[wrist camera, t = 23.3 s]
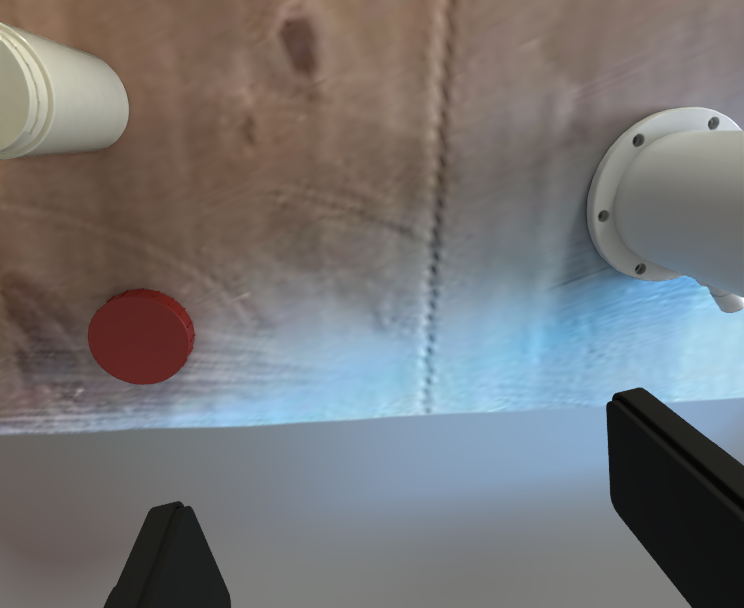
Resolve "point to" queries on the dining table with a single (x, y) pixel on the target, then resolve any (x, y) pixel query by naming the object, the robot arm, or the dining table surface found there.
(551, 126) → the dining table surface
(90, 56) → the jar
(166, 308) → the lid
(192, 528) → the robot arm
